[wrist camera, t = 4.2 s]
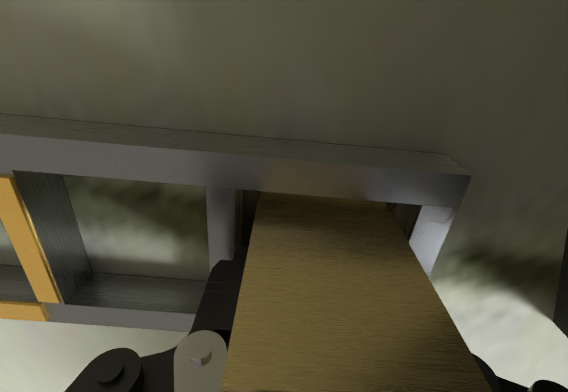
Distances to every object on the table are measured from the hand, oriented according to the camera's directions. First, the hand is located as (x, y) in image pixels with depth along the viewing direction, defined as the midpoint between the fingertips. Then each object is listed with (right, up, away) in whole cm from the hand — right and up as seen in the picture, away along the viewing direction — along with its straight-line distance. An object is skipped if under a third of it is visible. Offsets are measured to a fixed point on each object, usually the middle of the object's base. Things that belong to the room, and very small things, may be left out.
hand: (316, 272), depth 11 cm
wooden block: (0, +1, +2) cm, 2 cm away
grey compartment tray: (-7, +2, +2) cm, 8 cm away
